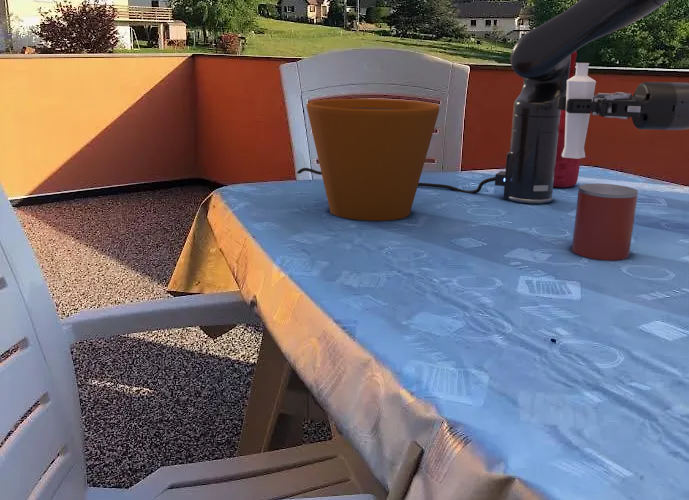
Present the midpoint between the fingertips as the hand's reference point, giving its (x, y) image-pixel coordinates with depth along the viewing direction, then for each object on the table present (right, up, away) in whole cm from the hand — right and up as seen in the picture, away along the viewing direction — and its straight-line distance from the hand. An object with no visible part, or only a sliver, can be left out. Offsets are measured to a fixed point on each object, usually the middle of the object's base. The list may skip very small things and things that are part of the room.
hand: (563, 104), depth 115 cm
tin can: (+4, -24, -5) cm, 25 cm away
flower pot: (-31, -17, +18) cm, 39 cm away
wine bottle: (+13, -9, +48) cm, 51 cm away
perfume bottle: (+3, -8, +3) cm, 9 cm away
